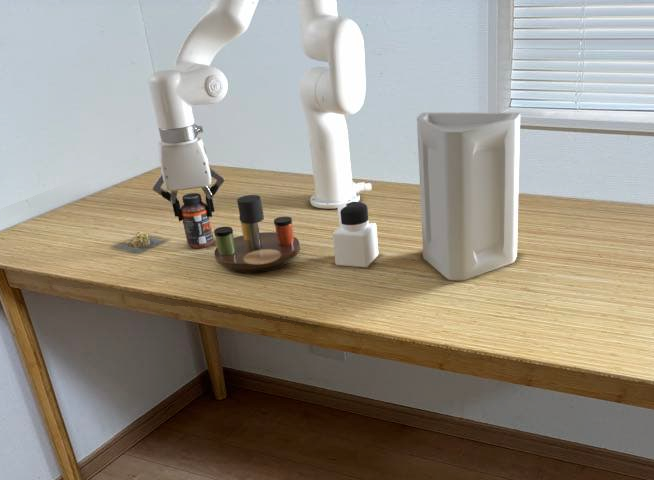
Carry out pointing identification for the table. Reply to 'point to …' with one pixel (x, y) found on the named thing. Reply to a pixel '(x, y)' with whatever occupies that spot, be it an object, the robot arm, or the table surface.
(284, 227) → the spice rack
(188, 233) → the supplement bottle
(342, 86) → the robot arm
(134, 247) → the dice set
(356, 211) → the medicine bottle
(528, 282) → the table surface
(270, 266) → the rack base
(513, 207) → the white triangular tub
